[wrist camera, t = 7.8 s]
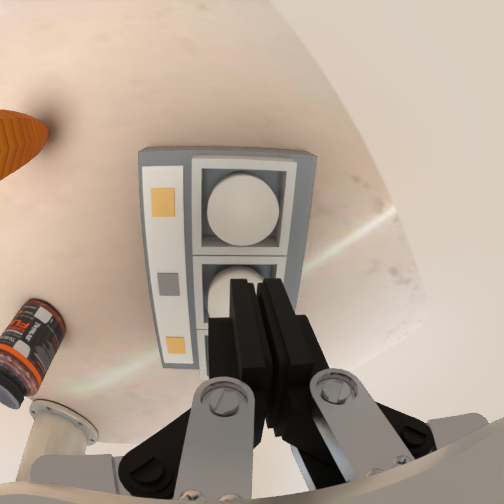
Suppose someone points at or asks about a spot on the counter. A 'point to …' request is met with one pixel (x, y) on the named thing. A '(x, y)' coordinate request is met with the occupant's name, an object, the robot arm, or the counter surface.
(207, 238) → the panel
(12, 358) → the supplement bottle
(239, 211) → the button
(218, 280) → the button middle
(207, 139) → the counter surface
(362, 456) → the robot arm
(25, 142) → the carrot
